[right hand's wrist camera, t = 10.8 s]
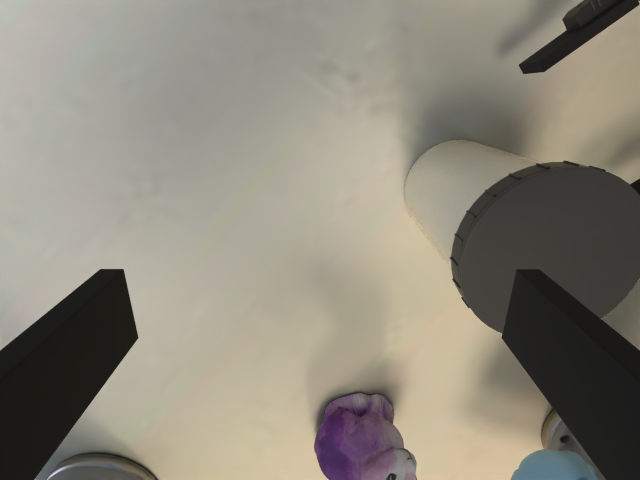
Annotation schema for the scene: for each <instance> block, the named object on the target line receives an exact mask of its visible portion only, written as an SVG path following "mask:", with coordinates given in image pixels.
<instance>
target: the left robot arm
mask: <svg viewBox="0 0 640 480" xmlns="http://www.w3.org/2000/svg"><path fill="white" fill-rule="evenodd" d="M638 1H640V0H584V1H582V2H581V3H579V4H578V5H577V6H575V7H574V8H573V9H571V10H570V11H568V13H567V14H566V15H565V17H564V18H563V19H562V20H563V22H564V24H565V27H566V29H567V30H566V31H565V32H564V33H562V34H561V35H560V36H558V37H557V38H555V39H554V40H553V41H551V42H550V43H548V44H547V45H546V46H544V47H543V48H542V49H540V50H539V51H537V52H536V53H535V54H533V55H532V56H530V57H529V58H528V59H526V60H525V61H524V62H522V63H521V64H519V66H520V68H521V70H522V72H523V74H528V73H538V72H545V71H546V70H547V69H549V68H550V67H552V66H553V65H555V64H556V63H557V62H559V61H560V60H562V59H563V58H564V57H566V56H567V55H569V54H570V53H572V52H573V51H574V50H576V49H577V48H579V47H580V46H581V45H583V44H584V43H586V42H587V41H589V40H590V39H591V38H593V37H594V36H596V35H597V34H598V33H600V32H601V31H603V30H604V29H606V28H607V27H608V26H610V25H611V24H613V23H614V22H615V21H617V20H618V19H620V18H621V17H623V16H624V15H625V14H627V13H628V12H630V11H631V10H632V9H634V8H635V7H637V6H638V5H639V2H638ZM630 186H631V187H632V188H633V189H634V190H635V191H637V193H638V194H639V196H640V179H639V180H637V181H635V182H634V183H632V184H630ZM542 444H543V447H544V450H539V451H536V452H533V453H531V454H530V455H528V456H527V457H526V458H524V459H523V460H522V462H521V464H520V466H519V468H518V469H517V470H515V472H514V473H513V475H512V478H511V480H606V479H605V478H604V476H603V475H602V474H601V472H600V471H599V470H598V468H597V467H596V465H595V464H594V463H593V461H592V460H591V459H590V457H589V456H588V455H587V453H586V452H585V451H584V449H583V448H582V446H581V445H580V444H579V442H578V441H577V440H576V438H575V437H574V436H573V434H572V433H571V431H570V430H569V429H568V427H567V426H566V425H565V423H564V422H563V421H562V419H561V418H560V417H559V415H558V414H557V412H556V411H555V410H554V409H553V411H552V412H551V413H550V415H549V416H548V418H547V420H546V422H545V424H544V427H543V431H542Z"/></svg>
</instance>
